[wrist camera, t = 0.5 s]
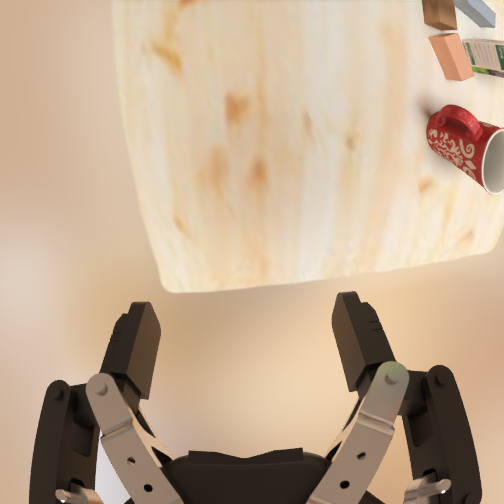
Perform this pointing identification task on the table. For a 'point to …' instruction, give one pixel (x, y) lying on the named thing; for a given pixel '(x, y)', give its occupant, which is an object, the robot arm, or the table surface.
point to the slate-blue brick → (477, 12)
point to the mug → (469, 145)
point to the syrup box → (486, 56)
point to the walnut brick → (440, 14)
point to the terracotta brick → (452, 56)
